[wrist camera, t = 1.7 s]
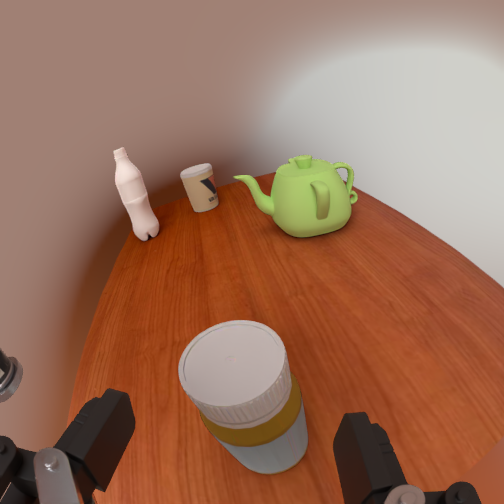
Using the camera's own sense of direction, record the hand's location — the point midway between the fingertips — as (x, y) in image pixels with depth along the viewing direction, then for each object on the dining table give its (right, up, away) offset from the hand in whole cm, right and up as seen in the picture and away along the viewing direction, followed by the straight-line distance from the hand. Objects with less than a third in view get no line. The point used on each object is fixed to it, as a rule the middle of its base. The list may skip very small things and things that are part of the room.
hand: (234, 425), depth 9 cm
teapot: (+12, +12, +51) cm, 54 cm away
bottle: (+3, -12, +13) cm, 18 cm away
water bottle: (-27, +10, +64) cm, 70 cm away
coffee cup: (-13, +20, +73) cm, 77 cm away
